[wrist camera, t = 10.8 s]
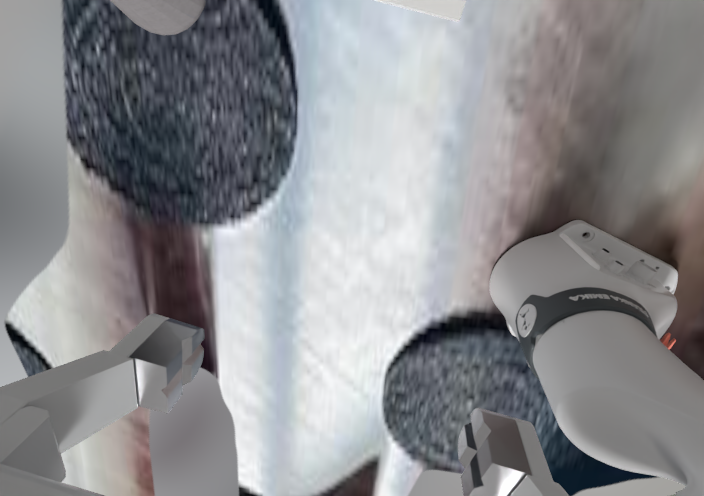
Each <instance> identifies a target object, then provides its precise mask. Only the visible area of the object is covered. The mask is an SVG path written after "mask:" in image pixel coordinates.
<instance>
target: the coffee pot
mask: <svg viewBox="0 0 704 496" xmlns="http://www.w3.org/2000/svg"><path fill="white" fill-rule="evenodd" d="M110 1H111V2H113V3H114V4H115V5H116V6H117V7H118V8H119V9H120V10H121V11H122V12H123V13H124V14H126V15H127V16H128V17H129V18H130V19H131V20H132V21H133V22H134V23H135V24H137V25H138V26H140V27H142V28H144V29H146V30H147V31H149V32H152V33H156V34H160V35H173V34H178V33H180V32H182V31H184V30H187V29H188V28H189V27H190V26H191V25H192V24H193V23H194V22H195V21H196V20H197V19H198V18H199V16H200V14H201V13H202V11H203V9H204V7H205V3H206V0H110Z"/></svg>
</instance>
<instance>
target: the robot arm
mask: <svg viewBox="0 0 704 496" xmlns="http://www.w3.org/2000/svg"><path fill="white" fill-rule="evenodd" d="M585 232H588V233H587V235H585V236H582V235H583V234H584V233H585ZM677 282H678V272H677V270H676V269H675V268H674V267H672V266H671V265H669V264H667V263H666V262H664V261H662V260H660V259H658V258H656V257H654V256H652V255H650V254H648V253H646V252H644V251H642V250H640V249H638V248H636V247H634V246H632V245H630V244H628V243H626V242H624V241H622V240H620V239H618V238H616V237H614V236H612V235H610V234H608V233H606V232H604V231H602V230H600V229H598V228H596V227H594V226H592V225H590V224H588V223H586V222H584V221H582V220H574V221H571V222H569V223H567V224H565V225H564V226H562V227H560V228H559V229H557V230H556V231H554V232H551V233H548V234H545V235H540V236H536V237H533V238H530V239H527V240H525V241H523V242H521V243H519V244H517V245H515V246H514V247H512V248H511V249H510V250H508V251H507V252H506V253H505V254H504V255H503V256H502V257H501V258H500V259H499V261H498V262H497V264H496V265H495V267H494V269H493V271H492V274H491V277H490V294H491V297H492V300H493V302H494V303H495V305H496V306H497V308H498V309H499V310H500V311H501V312H502V314H503V315H504V317H505V318H506V322H507V326H508V329H509V331H510V332H511V334H512V335H513V336H515V337H517V339H518V340H519V342H520V345H521V348H522V350H523V353H524V355H525V358H526V360H527V364H528V366H529V367H530V368H531V370H532V372H533V374H534V375H535V376H536V377H537V378H538V379H539V380H540V382H541V384H542V387H543V389H544V392H545V394H546V396H547V399H548V401H549V403H550V406H551V408H552V410H553V413H554V415H555V417H556V420H557V422H558V425H559V426H560V428H561V430H562V431H563V432H564V434H565V435H566V436H567V438H568V439H569V440H570V441H571V442H572V443H573V444H574V445H575V446H577V447H578V448H579V449H580V450H582V451H583V452H585V453H586V454H588V455H589V456H591V457H593V458H595V459H597V460H599V461H602V462H604V463H606V464H608V465H611V466H613V467H616V468H620V469H623V470H626V471H631V472H636V473H642V474H648V475H654V476H659V477H663V478H667V479H670V480H673V481H676V482H678V483H681V484H683V485H685V486H686V487H685V488H684V489H683V490H681V491H678V492H676V494H674V495H671V496H704V380H703V379H701V378H700V377H699V376H698V375H697V374H696V373H694V372H693V371H692V370H691V369H690V368H689V367H688V366H686V365H685V364H684V363H683V362H682V361H681V360H680V359H679V358H677V357H676V356H675V355H674V354H673V353H672V352H671V351H670V350H669V349H670V348H671V347H672V346H673V344H674V343H675V341H676V339H673V340H671V341H670V342H669V343H668V341H669V339H670V336H671V334H670V333H667V334H666V335H665V336H664V337H663V338H662V339H661V341H660V340H659V339H660V338H661V337H662V335H663V334H664V333H665V332H666V330H667V329H668V328H669V326H670V325H671V323H672V321H673V319H674V317H675V315H676V311H677V300H676V298H675V296H674V295H673V294H674V292H675V289H676V286H677ZM665 287H666V288H665ZM203 339H204V330H203V329H202V328H199V327H196V326H193V325H190V324H187V323H183V322H180V321H177V320H174V319H171V318H167V317H164V316H160V315H157V314H151V315H149V316H147V317H146V318H145V319H144V320H143V321H142V322H141V323H140V324H138V325H137V326H136V327H135V328H134V329H133V330H132V331H131V332H130V333H129V334H127V335H126V336H125V337H124V338H123V339H122V340H121V341H120V342H119V343H118V344H117V345H115V346H114V347H113V348H112V349H111V350H110V351H109V352H108V351H105V350H103V351H100V352H97V353H94V354H92V355H89V356H86V357H83V358H80V359H78V360H75V361H72V362H69V363H67V364H64V365H61V366H58V367H55V368H53V369H50V370H47V371H44V372H41V373H39V374H36V375H33V376H30V377H27V378H25V379H22V380H19V381H16V382H14V383H11V384H8V385H5V386H2V387H0V496H104V495H101V494H98V493H94V492H91V491H88V490H84V489H81V488H78V487H75V486H71V485H68V484H65V483H62V481H63V479H64V478H65V475H66V471H65V467H64V464H63V460H62V457H61V453H63V452H64V451H66V450H68V449H70V448H71V447H73V446H75V445H76V444H78V443H80V442H81V441H83V440H85V439H86V438H88V437H90V436H91V435H93V434H95V433H96V432H98V431H100V430H101V429H103V428H105V427H106V426H108V425H110V424H111V423H113V422H115V421H116V420H118V419H120V418H121V417H123V416H125V415H127V414H128V413H130V412H132V411H133V410H135V409H137V408H138V406H140V407H144V408H148V409H151V410H155V411H159V412H163V413H166V414H168V413H169V411H170V410H171V409H172V408H173V406H174V405H175V403H176V402H177V401H178V399H179V398H180V397H181V395H182V386H183V385H185V384H187V383H189V382H191V381H192V380H193V378H194V377H195V375H196V374H197V372H198V370H199V368H200V366H201V363H202V360H203V355H204V349H203V348H202V346H201V345H200V343H201V342H202V341H203ZM470 417H471V423H469V424H466V425H464V427H463V429H462V431H461V432H460V436H459V441H458V456H459V461H460V462H461V464H462V465H463V467H464V468H465V471H464V472H463V474H462V476H461V480H462V487H463V495H464V496H569V495H568V494H567V493H566V491H565V490H564V489H563V488H562V487H561V486H560V484H558V483H555V482H553V479H552V476H551V474H550V471H549V468H548V465H547V462H546V460H545V457H544V454H543V451H542V448H541V445H540V443H539V440H538V437H537V434H536V431H535V429H534V426H533V425H532V424H531V423H530V422H527V421H523V420H520V419H516V418H511V417H510V416H506V415H502V414H499V413H495V412H492V411H488V410H484V409H481V408H476V409H474V410H473V412H472V414H471V415H470Z"/></svg>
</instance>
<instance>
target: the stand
mask: <svg viewBox="0 0 704 496" xmlns="http://www.w3.org/2000/svg"><path fill="white" fill-rule="evenodd" d="M374 1H377V2H381V3H385V4H389V5H393V6H397V7H401V8H405V9H408V10H412V11H416V12H420V13H424V14H428V15H432V16H436V17H439V18H443V19H447V20H451V21H455V22H459V21H460V18H461V15H462V12H463V9H464V6H465V2H466V0H374Z"/></svg>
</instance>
